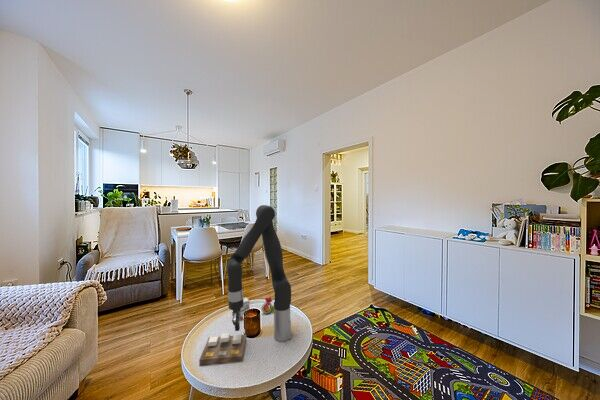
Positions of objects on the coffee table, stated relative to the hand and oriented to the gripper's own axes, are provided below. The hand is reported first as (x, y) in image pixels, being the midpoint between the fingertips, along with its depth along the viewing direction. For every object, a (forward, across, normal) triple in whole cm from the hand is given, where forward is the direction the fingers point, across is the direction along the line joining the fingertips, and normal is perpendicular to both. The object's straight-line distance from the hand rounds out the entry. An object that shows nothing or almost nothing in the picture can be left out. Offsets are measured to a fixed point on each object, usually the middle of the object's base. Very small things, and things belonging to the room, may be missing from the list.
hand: (237, 329), depth 118 cm
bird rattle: (+11, +31, -16) cm, 36 cm away
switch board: (+10, -2, +7) cm, 12 cm away
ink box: (+10, +28, +2) cm, 30 cm away
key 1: (+6, 0, +13) cm, 14 cm away
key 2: (+6, 0, +1) cm, 6 cm away
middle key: (+4, 0, +6) cm, 8 cm away
